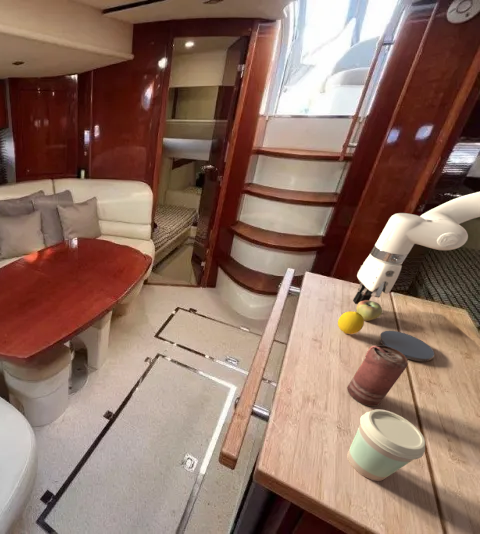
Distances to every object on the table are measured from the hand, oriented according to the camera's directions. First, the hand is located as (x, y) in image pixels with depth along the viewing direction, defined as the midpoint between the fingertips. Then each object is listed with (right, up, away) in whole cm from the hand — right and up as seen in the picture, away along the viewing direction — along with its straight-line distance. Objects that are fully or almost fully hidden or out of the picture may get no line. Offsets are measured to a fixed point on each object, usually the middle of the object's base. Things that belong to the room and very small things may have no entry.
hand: (359, 303), depth 100 cm
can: (-25, -19, -27) cm, 42 cm away
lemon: (-13, -8, -9) cm, 18 cm away
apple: (-1, -4, -3) cm, 5 cm away
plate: (-1, -11, -15) cm, 18 cm away
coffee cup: (-36, -27, -41) cm, 61 cm away
